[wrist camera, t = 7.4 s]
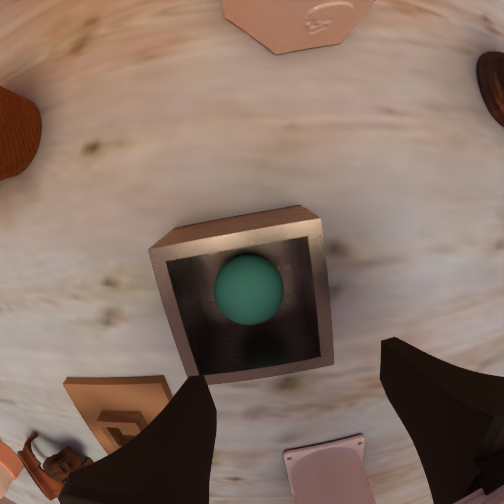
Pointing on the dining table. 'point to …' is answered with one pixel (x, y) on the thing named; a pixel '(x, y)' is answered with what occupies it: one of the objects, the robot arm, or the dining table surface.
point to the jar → (295, 21)
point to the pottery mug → (51, 468)
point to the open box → (239, 335)
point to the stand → (118, 405)
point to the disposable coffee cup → (17, 133)
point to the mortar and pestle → (493, 83)
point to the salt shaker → (8, 467)
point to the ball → (248, 289)
